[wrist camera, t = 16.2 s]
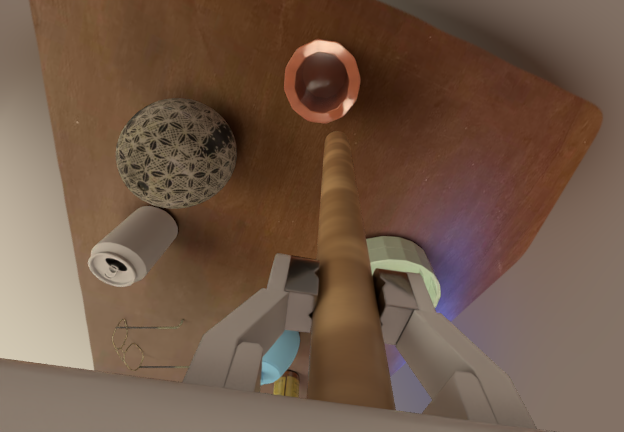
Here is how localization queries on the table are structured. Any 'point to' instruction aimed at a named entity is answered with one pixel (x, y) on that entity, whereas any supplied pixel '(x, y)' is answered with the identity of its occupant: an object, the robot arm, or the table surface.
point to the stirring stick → (345, 295)
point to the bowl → (403, 260)
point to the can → (133, 247)
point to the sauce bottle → (287, 384)
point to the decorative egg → (176, 153)
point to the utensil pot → (322, 81)
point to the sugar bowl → (279, 356)
